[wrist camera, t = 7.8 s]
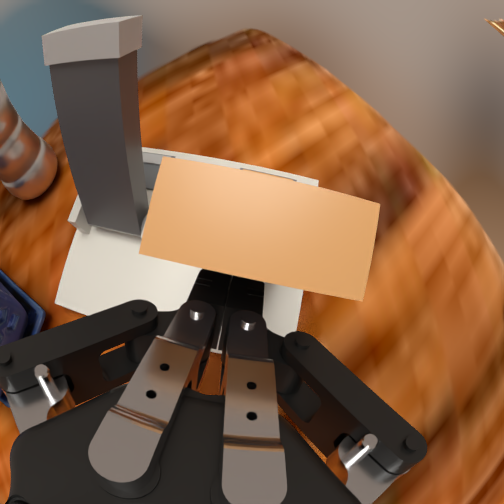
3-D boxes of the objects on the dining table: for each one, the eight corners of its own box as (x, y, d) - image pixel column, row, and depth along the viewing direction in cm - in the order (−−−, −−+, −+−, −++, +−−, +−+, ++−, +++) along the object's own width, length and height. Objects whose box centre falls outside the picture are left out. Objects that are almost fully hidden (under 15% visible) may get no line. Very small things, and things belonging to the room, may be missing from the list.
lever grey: (100, 212, 24) (68, 25, 11) (154, 223, 24) (142, 15, 11) (87, 232, 22) (41, 35, 9) (143, 245, 22) (118, 21, 9)
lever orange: (221, 227, 23) (162, 156, 7) (289, 241, 23) (380, 204, 7) (215, 257, 23) (138, 253, 7) (283, 272, 23) (362, 301, 7)
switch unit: (119, 155, 27) (104, 126, 23) (313, 190, 28) (327, 163, 23) (65, 306, 23) (36, 298, 18) (284, 364, 23) (297, 370, 18)
